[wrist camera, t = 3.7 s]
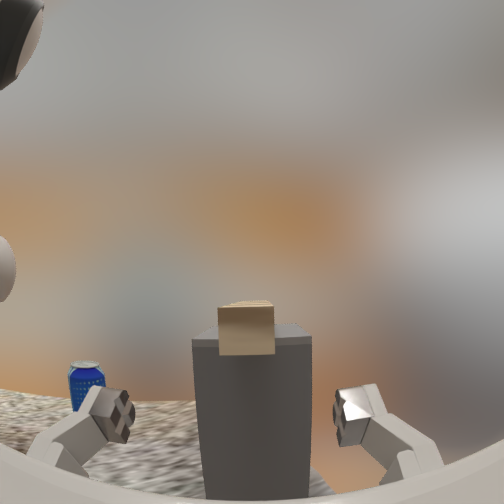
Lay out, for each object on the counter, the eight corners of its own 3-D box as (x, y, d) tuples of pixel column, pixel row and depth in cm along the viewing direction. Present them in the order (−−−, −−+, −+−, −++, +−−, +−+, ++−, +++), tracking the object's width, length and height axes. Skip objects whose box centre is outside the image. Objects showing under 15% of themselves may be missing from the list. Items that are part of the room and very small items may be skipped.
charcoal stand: (306, 524, 26) (311, 335, 29) (210, 525, 26) (191, 339, 30) (296, 473, 40) (296, 323, 43) (222, 474, 40) (213, 325, 44)
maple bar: (275, 354, 21) (273, 306, 22) (219, 355, 21) (217, 307, 22) (268, 323, 45) (267, 300, 45) (241, 324, 45) (240, 301, 45)
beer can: (108, 422, 57) (100, 359, 60) (116, 436, 51) (106, 367, 53) (75, 424, 52) (65, 359, 54) (79, 439, 46) (67, 368, 48)
